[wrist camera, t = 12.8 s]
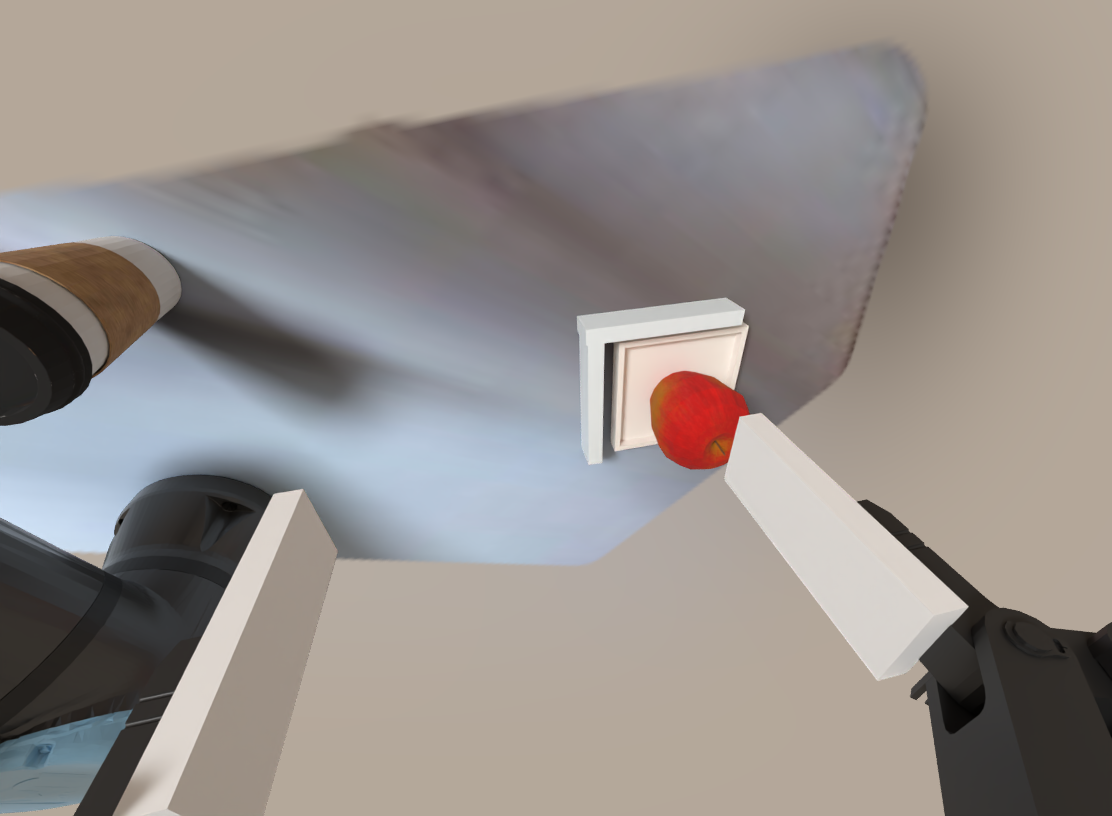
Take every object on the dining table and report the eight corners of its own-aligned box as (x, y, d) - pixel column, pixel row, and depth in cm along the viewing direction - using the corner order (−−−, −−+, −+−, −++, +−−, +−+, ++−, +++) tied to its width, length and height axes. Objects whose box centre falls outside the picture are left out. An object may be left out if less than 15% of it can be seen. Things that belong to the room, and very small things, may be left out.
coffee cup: (150, 204, 30) (-61, 256, 18) (225, 313, 35) (99, 413, 23) (29, 231, 29) (-275, 304, 17) (121, 338, 34) (-63, 453, 22)
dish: (610, 442, 51) (614, 451, 50) (613, 336, 43) (619, 343, 42) (717, 424, 53) (724, 432, 52) (739, 319, 45) (748, 326, 44)
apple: (636, 428, 50) (677, 502, 40) (630, 364, 45) (677, 432, 35) (709, 409, 50) (768, 477, 40) (712, 343, 45) (781, 404, 35)
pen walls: (579, 446, 51) (587, 465, 48) (576, 316, 41) (585, 330, 38) (701, 426, 53) (715, 443, 50) (726, 297, 43) (745, 309, 40)
